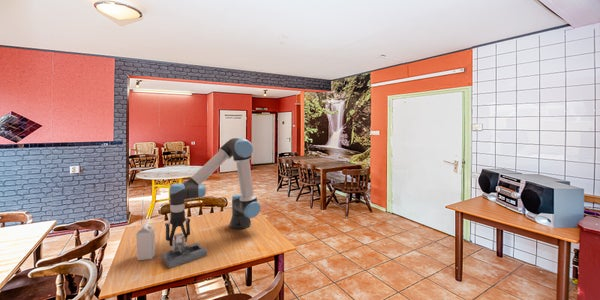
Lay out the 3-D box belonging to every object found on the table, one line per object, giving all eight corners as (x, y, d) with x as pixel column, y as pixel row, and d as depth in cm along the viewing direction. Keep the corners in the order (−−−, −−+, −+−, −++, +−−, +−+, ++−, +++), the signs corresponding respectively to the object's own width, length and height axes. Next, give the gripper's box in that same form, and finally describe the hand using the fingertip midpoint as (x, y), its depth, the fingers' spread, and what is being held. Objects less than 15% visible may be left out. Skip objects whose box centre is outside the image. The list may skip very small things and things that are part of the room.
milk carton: (137, 260, 142) (135, 226, 140) (141, 254, 148) (139, 221, 147) (152, 259, 144) (150, 225, 142) (155, 253, 150) (154, 220, 149)
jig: (198, 248, 157) (197, 242, 157) (207, 255, 148) (206, 249, 148) (161, 259, 143) (161, 253, 143) (169, 268, 134) (169, 261, 134)
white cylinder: (181, 247, 158) (180, 232, 157) (183, 249, 155) (183, 234, 154) (173, 249, 155) (172, 234, 154) (176, 252, 152) (175, 237, 151)
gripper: (191, 206, 162) (191, 242, 164) (157, 212, 149) (159, 252, 151) (196, 208, 157) (196, 246, 159) (162, 215, 144) (163, 256, 146)
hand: (178, 249), depth 155 cm, fingers open, 6 cm apart
